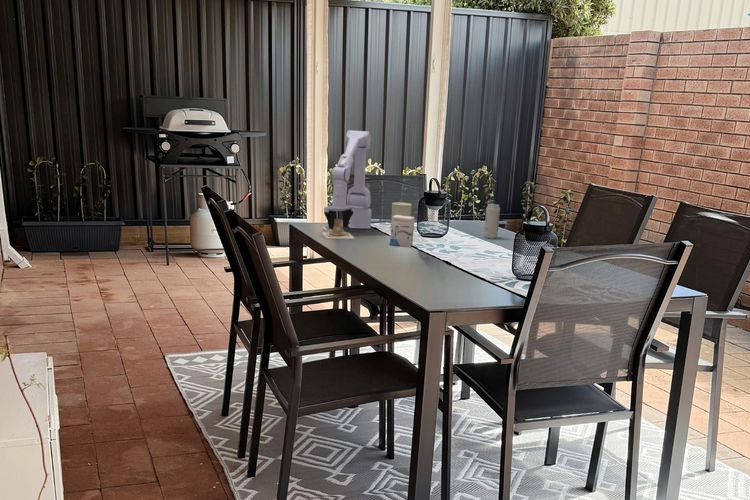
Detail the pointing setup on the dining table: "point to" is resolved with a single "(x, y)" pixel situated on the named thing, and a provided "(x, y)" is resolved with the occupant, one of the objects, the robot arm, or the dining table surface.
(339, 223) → the stamp
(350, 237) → the mat
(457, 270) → the dining table surface
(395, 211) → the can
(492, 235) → the energy drink can
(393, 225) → the ink box
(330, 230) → the ink pad
